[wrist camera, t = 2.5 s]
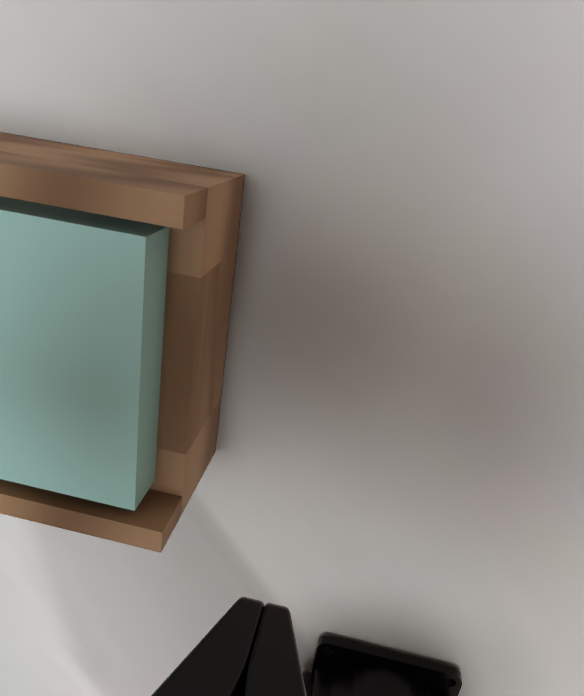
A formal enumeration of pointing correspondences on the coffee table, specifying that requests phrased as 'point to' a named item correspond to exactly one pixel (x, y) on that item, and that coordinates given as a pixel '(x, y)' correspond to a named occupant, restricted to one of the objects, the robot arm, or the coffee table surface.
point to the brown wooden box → (179, 317)
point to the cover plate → (80, 350)
